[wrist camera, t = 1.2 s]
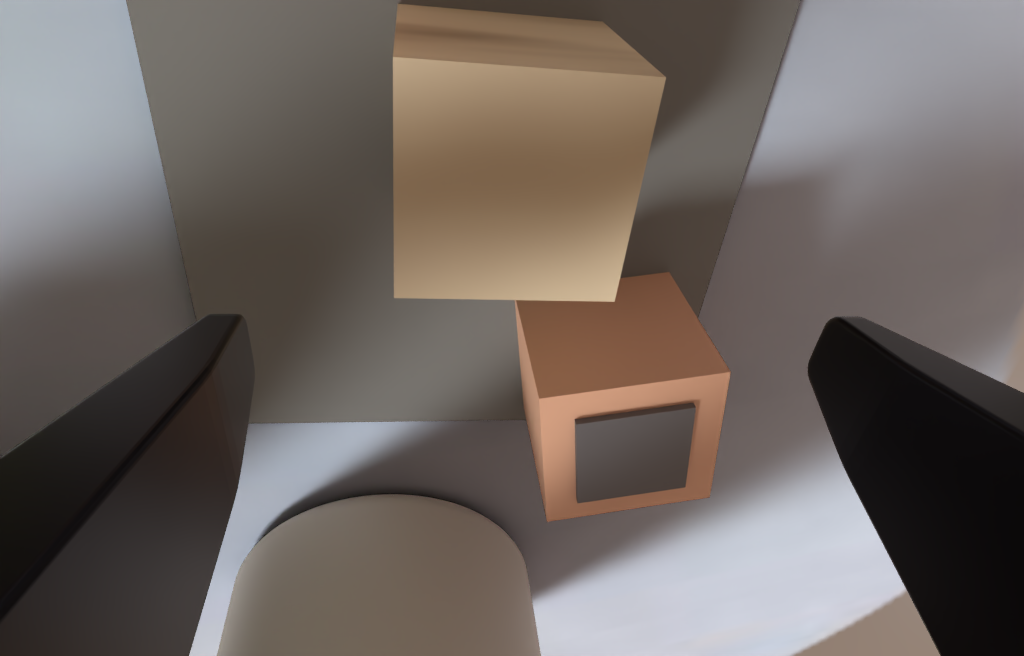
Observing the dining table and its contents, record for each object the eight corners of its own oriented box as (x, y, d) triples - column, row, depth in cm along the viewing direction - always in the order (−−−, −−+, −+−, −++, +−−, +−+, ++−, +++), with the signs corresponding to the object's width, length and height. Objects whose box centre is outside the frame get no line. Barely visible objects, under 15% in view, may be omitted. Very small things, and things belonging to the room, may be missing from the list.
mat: (662, 410, 25) (665, 417, 25) (221, 415, 22) (219, 423, 22) (933, -447, 12) (947, -455, 12) (-8, -659, 10) (-22, -676, 9)
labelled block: (659, 388, 24) (712, 502, 20) (523, 407, 23) (548, 527, 19) (669, 271, 21) (733, 377, 17) (513, 292, 20) (540, 404, 16)
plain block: (571, 207, 19) (614, 301, 15) (397, 200, 18) (394, 298, 14) (602, 21, 16) (665, 77, 12) (397, 3, 15) (392, 56, 11)
